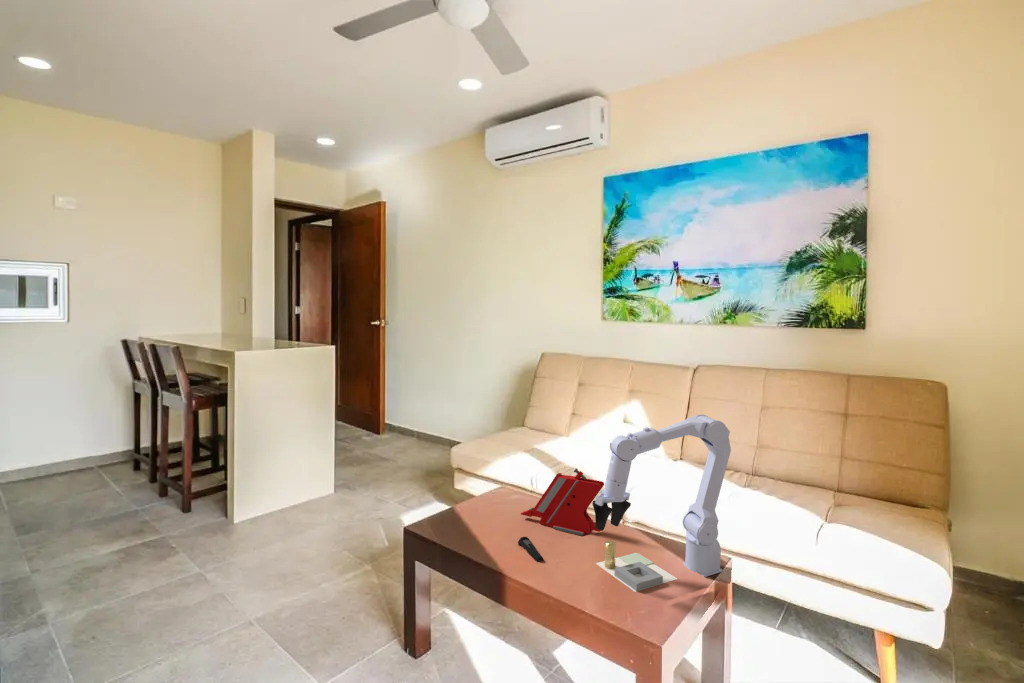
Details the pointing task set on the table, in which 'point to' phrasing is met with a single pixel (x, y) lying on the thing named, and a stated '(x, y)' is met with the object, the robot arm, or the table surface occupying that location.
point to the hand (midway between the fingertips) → (607, 527)
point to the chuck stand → (637, 572)
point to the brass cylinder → (610, 554)
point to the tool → (567, 504)
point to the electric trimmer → (530, 548)
